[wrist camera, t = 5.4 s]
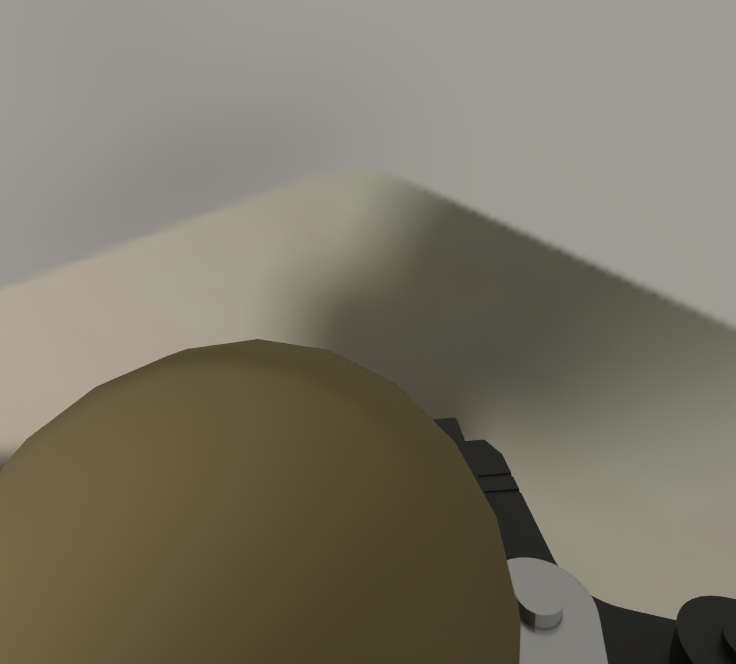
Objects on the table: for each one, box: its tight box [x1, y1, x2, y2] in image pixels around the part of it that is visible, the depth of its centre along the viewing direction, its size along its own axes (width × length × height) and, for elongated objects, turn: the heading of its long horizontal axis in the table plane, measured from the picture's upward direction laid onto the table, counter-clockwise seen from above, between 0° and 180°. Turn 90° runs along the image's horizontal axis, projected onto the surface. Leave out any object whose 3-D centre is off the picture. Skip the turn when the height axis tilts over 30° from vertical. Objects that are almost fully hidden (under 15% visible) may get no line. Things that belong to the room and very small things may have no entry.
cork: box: [0, 339, 521, 664], centre depth 8 cm, size 6×6×11 cm
